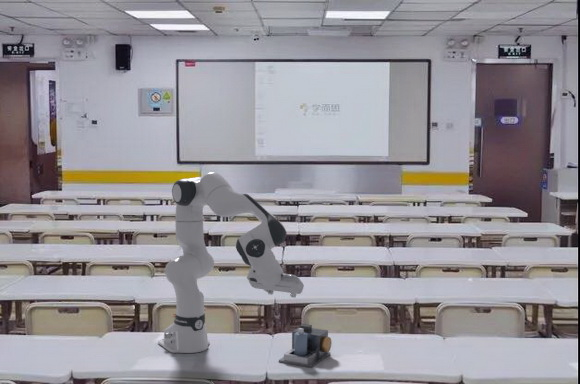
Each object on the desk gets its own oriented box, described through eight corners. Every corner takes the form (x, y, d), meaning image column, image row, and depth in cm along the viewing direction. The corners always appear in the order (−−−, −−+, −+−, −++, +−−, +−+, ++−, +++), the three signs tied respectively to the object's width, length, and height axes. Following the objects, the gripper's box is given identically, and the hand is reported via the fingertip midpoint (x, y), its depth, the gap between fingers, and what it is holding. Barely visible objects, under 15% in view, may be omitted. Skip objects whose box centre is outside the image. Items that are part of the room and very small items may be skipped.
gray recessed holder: (278, 362, 289) (278, 332, 287) (298, 349, 305) (299, 320, 303) (313, 368, 282) (314, 337, 281) (332, 354, 298) (333, 325, 297)
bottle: (291, 358, 290) (291, 328, 289) (300, 356, 293) (301, 326, 292) (300, 361, 286) (301, 331, 285) (309, 359, 290) (310, 329, 289)
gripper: (299, 268, 262) (310, 290, 272) (248, 263, 271) (261, 284, 281) (293, 283, 259) (305, 305, 269) (242, 277, 268) (255, 298, 278)
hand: (282, 294), depth 275 cm, fingers open, 8 cm apart
